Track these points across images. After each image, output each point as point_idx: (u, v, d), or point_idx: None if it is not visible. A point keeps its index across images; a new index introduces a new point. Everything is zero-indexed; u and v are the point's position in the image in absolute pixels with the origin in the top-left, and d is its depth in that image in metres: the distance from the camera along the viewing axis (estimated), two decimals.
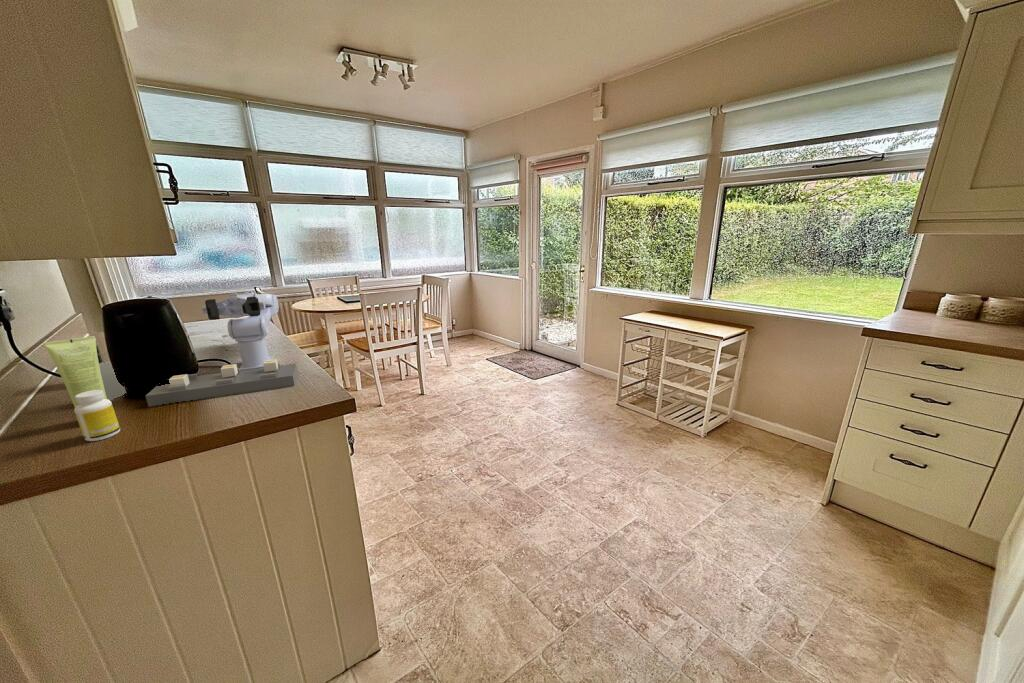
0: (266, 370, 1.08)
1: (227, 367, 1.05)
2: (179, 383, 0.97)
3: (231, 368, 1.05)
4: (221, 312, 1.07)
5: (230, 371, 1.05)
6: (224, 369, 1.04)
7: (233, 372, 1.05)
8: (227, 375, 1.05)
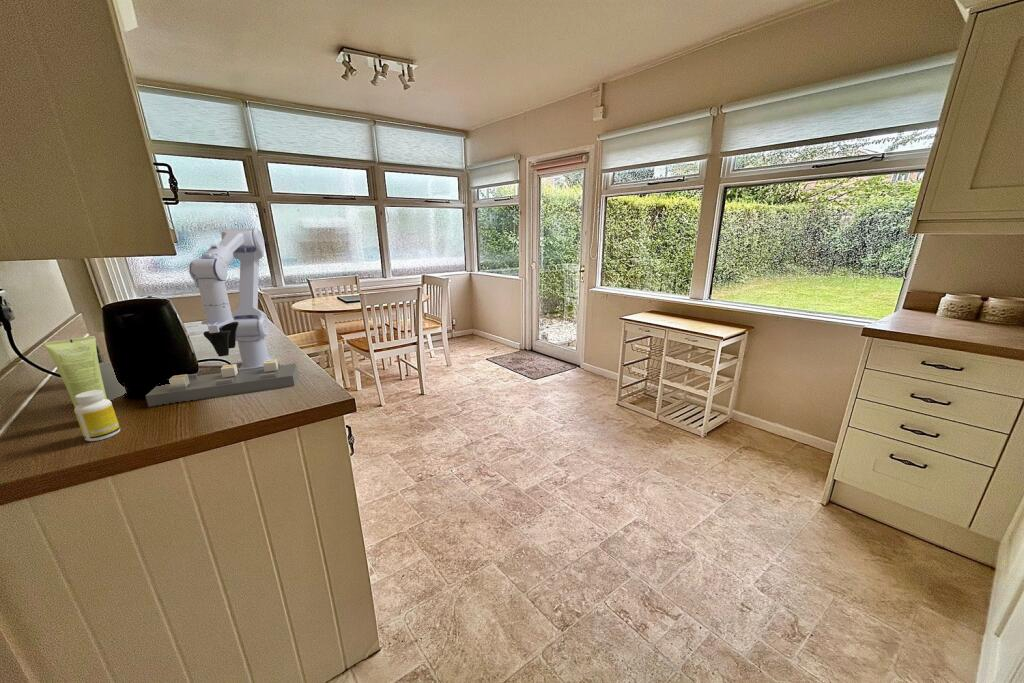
0: (266, 370, 1.08)
1: (227, 367, 1.05)
2: (179, 383, 0.97)
3: (231, 368, 1.05)
4: None
5: (230, 371, 1.05)
6: (224, 369, 1.04)
7: (233, 372, 1.05)
8: (227, 375, 1.05)
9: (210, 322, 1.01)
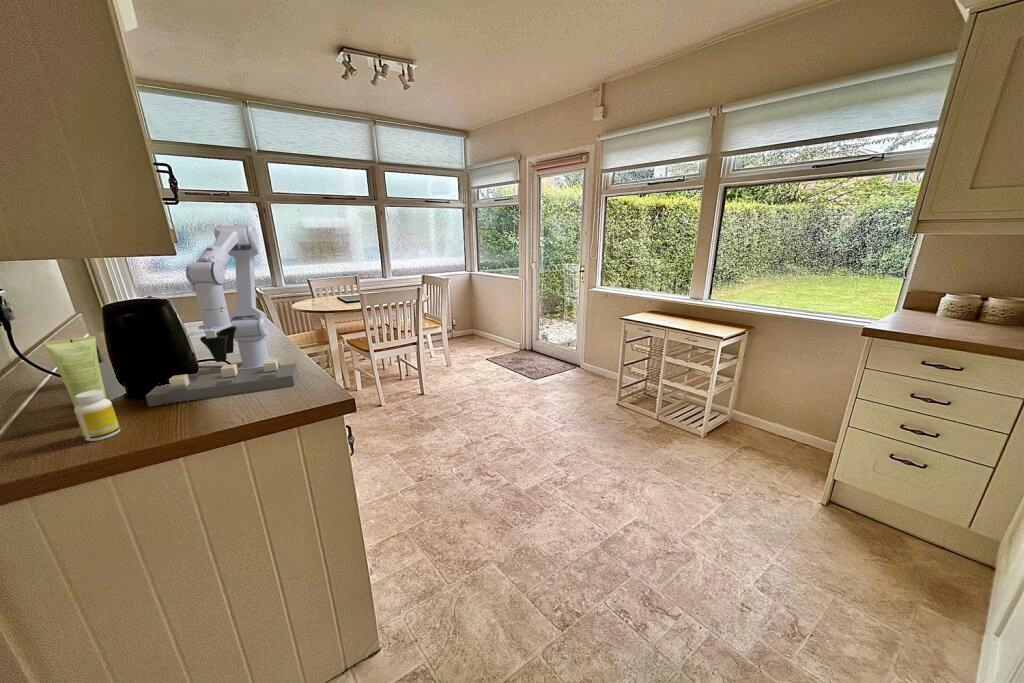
0: (266, 370, 1.08)
1: (227, 367, 1.05)
2: (179, 383, 0.97)
3: (231, 368, 1.05)
4: None
5: (230, 371, 1.05)
6: (224, 369, 1.04)
7: (233, 372, 1.05)
8: (227, 375, 1.05)
9: (207, 327, 0.98)
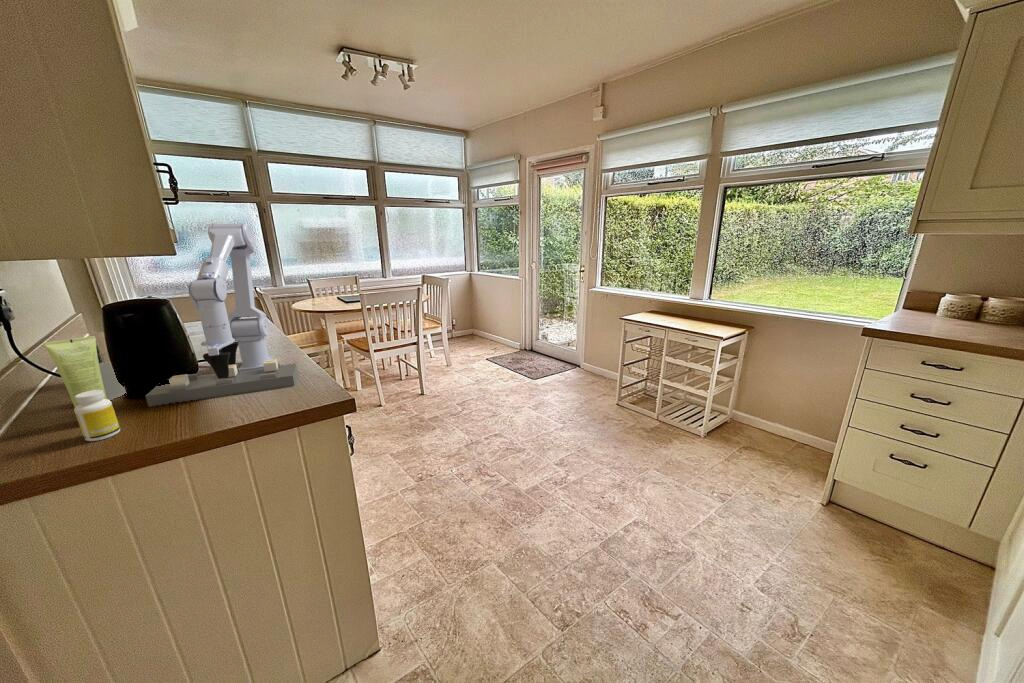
0: (266, 370, 1.08)
1: None
2: (179, 383, 0.97)
3: (231, 368, 1.05)
4: None
5: (230, 371, 1.05)
6: None
7: (233, 372, 1.05)
8: None
9: (210, 344, 0.99)
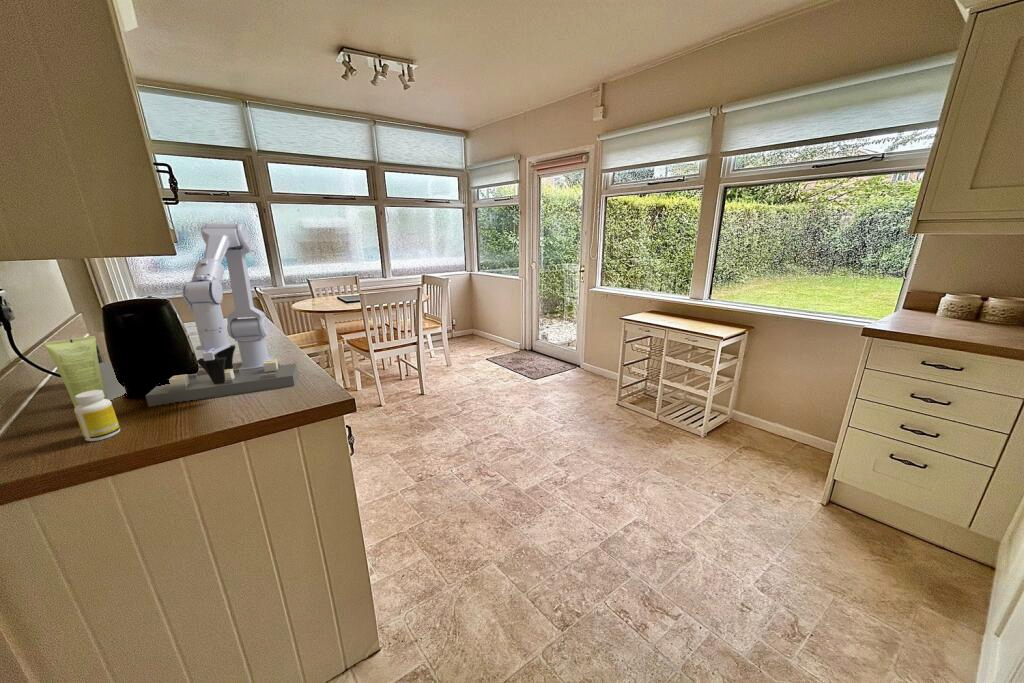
0: (266, 370, 1.08)
1: None
2: (179, 383, 0.97)
3: (227, 373, 1.01)
4: None
5: (226, 376, 1.01)
6: None
7: (229, 377, 1.02)
8: None
9: (205, 348, 0.95)
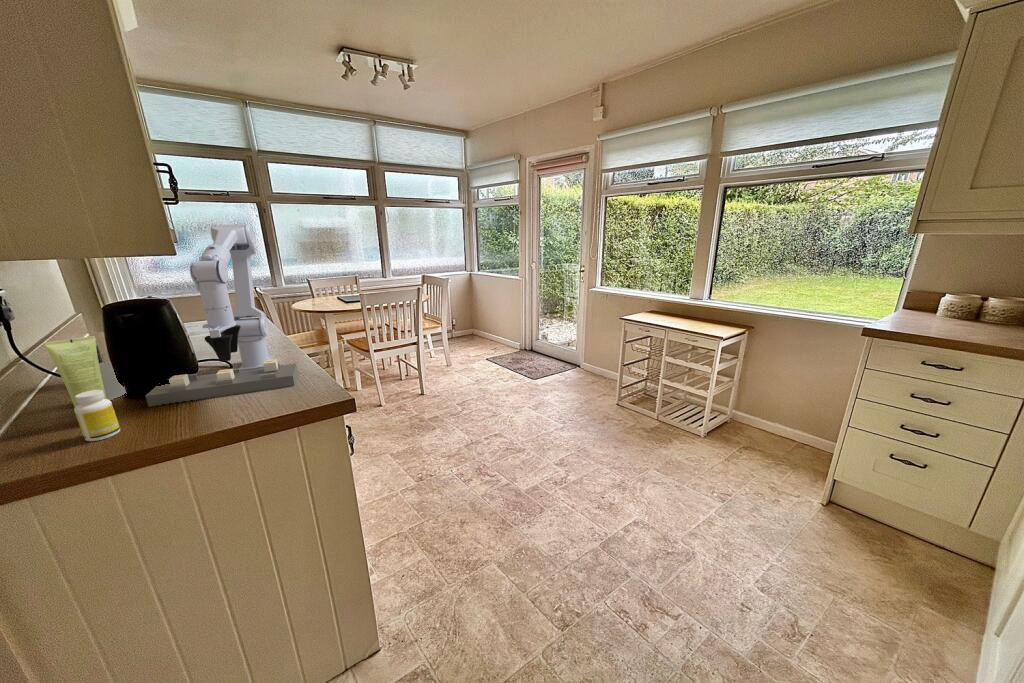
0: (266, 370, 1.08)
1: (223, 372, 1.01)
2: (179, 383, 0.97)
3: (227, 373, 1.01)
4: None
5: (226, 376, 1.01)
6: (220, 374, 1.01)
7: (229, 377, 1.02)
8: None
9: (211, 326, 0.97)
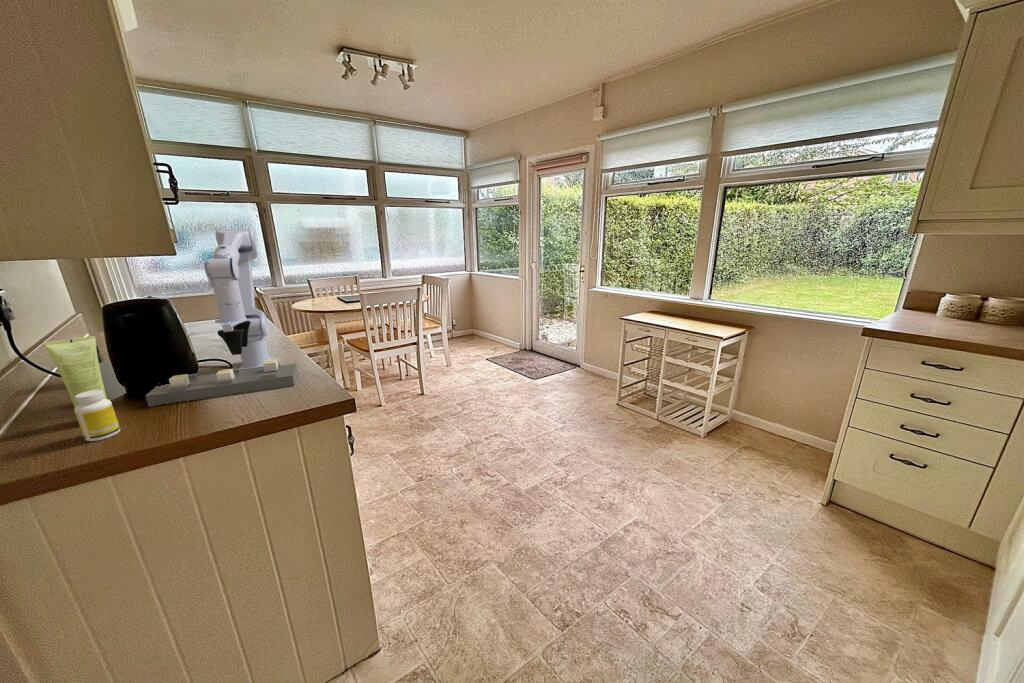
0: (266, 370, 1.08)
1: (223, 372, 1.01)
2: (179, 383, 0.97)
3: (227, 373, 1.01)
4: None
5: (226, 376, 1.01)
6: (220, 374, 1.01)
7: (229, 377, 1.02)
8: None
9: (224, 321, 1.02)
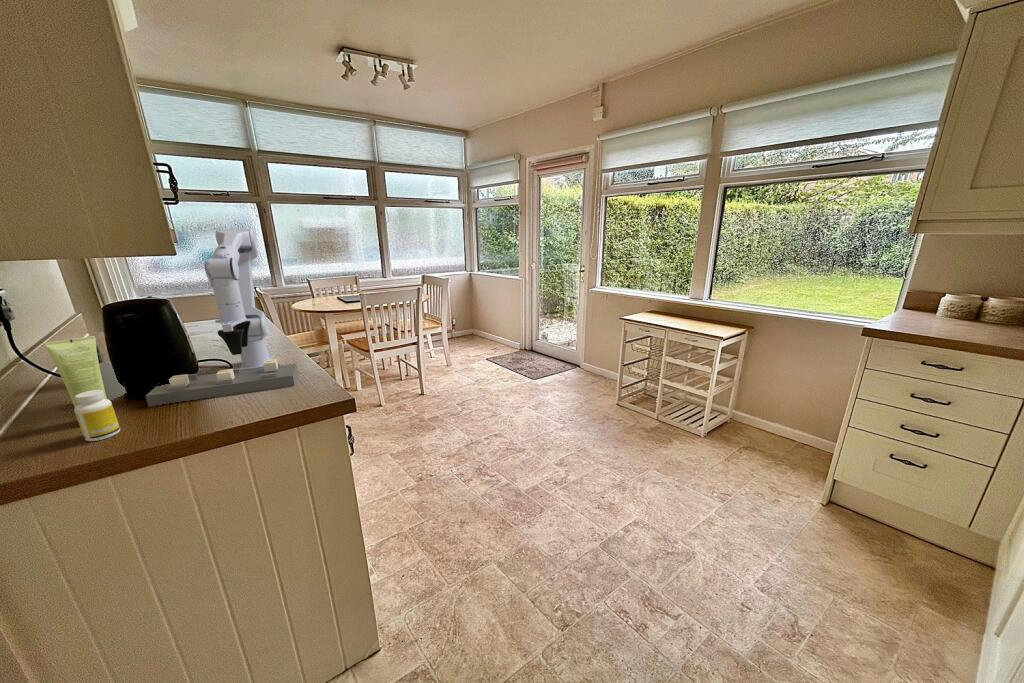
0: (266, 370, 1.08)
1: (223, 372, 1.01)
2: (179, 383, 0.97)
3: (227, 373, 1.01)
4: None
5: (226, 376, 1.01)
6: (220, 374, 1.01)
7: (229, 377, 1.02)
8: None
9: (224, 321, 1.02)
